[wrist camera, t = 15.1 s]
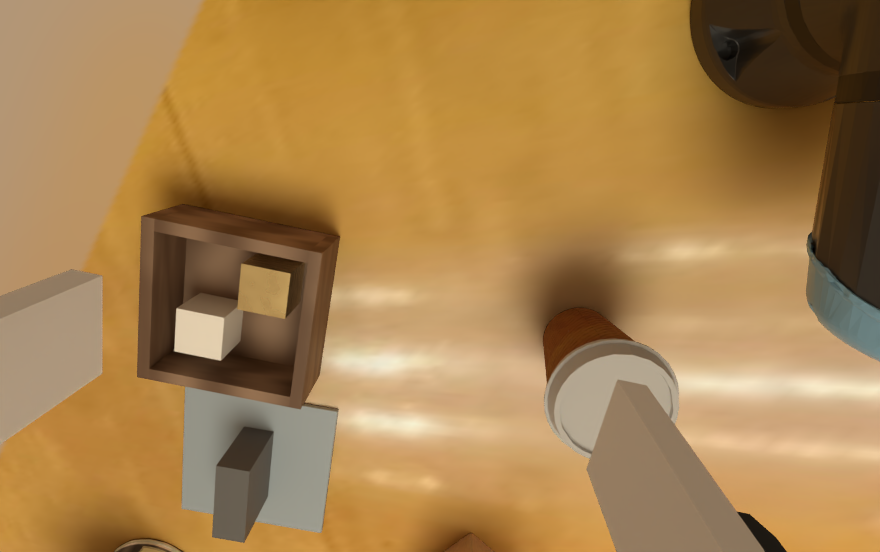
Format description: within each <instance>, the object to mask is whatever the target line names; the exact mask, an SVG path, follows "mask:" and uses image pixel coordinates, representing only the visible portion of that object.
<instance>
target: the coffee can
mask: <svg viewBox="0 0 880 552" xmlns="http://www.w3.org/2000/svg"><path fill="white" fill-rule="evenodd" d="M114 552H182V551H180V550H179V549H177V548H175V547H174V546H172V545H170V544H167V543H165V542H161V541H158V540H152V539H138V540H133V541H129V542H127V543H125V544H123V545H121V546H120V547H118V548H117V549H116V550H115V551H114Z"/></svg>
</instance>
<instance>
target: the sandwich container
mask: <svg viewBox="0 0 880 552" xmlns="http://www.w3.org/2000/svg"><path fill="white" fill-rule="evenodd" d="M444 552H494V551H493V550H491V549H490V548H489V547H488V546H487V545H486V544H484V543H483V542H482V541H481V540H480V539H479V538H477V537H476V536H475V535H474V534H473V533H469V534H468V535H467V536H465V537H464V538H462V539H461V540H459V541H458V542H457V543H455V544H454V545H452V546H451V547H450V548H448V549H447V550H445V551H444Z"/></svg>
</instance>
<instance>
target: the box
mask: <svg viewBox="0 0 880 552" xmlns="http://www.w3.org/2000/svg"><path fill="white" fill-rule="evenodd" d="M339 240H340V237H339V236H334V235H329V234H325V233H320V232H315V231H310V230H305V229H301V228H296V227H291V226H286V225H281V224H276V223H272V222H267V221H262V220H257V219H252V218H248V217H243V216H238V215H233V214H228V213H223V212H219V211H214V210H209V209H204V208H199V207H195V206H190V205H185V204H182V205H178V206H175V207H171V208H168V209H164V210H161V211H157V212H154V213H151V214H147V215H144V216H141V252H140V289H139V325H138V362H137V377H140V378H145V379H150V380H155V381H160V382H165V383H170V384H175V385H180V386H185V387H190V388H195V389H200V390H205V391H210V392H215V393H220V394H225V395H230V396H235V397H240V398H245V399H250V400H255V401H260V402H265V403H270V404H275V405H280V406H285V407H290V408H295V409H300V410H301V408H302V406H303V404H304V402H305V401H306V399H307V397H308V395H309V393H310V392H311V390H312V388H313V386H314V384H315V383H316V381H317V379H318V377H319V375H320V368H321V361H322V355H323V348H324V341H325V334H326V328H327V321H328V314H329V307H330V301H331V294H332V287H333V280H334V274H335V267H336V260H337V253H338V247H339ZM257 253H261V254H266V255H271V256H276V257H281V258H285V259H290V260H295V261H300V262H305V267H304V275H303V282H302V290H301V298H300V303H299V304H298V305H297V306H296V307H295V309H294V310H293V311H292V312H291V313H290V314H289V315H288V316H287V318H286V319H283V318H278V317H273V316H268V315H263V314H258V313H253V312H248V311H243V319H242V330H241V340H240V342H239V343H238V344H237V345H236V346H235V347H234V348H233V349H232V350H231V351H230V352H229V353H228V354H227V355H226V356H225V357H224V358H223V359H222V360H221V361H220V360H215V359H210V358H205V357H200V356H195V355H190V354H185V353H180V352H175V351H174V346H175V327H176V308H178V307H179V306H181V305H182V304H184V303H185V302H187V301H188V300H190V299H191V298H193V297H194V296H196V295H198V294H199V293H205V294H210V295H214V296H219V297H224V298H229V299H234V300H238V295H239V284H240V273H241V263H243V262H244V261H246V260H248V259H249V258H251V257H252V256H254V255H255V254H257Z"/></svg>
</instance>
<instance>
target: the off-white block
mask: <svg viewBox="0 0 880 552" xmlns="http://www.w3.org/2000/svg"><path fill="white" fill-rule="evenodd" d="M237 306H238V300H234V299H229V298H224V297H219V296H214V295H210V294H205V293H199V294H198V295H196V296H194V297H193V298H191V299H190V300H188V301H187V302H185V303H184V304H182V305H181V306H179V307H178V308H176V327H175V346H174V351H175V352H180V353H185V354H190V355H195V356H200V357H205V358H210V359H215V360H220V361H221V360H222V359H223V358H224V357H225V356H226V355H227V354H228V353H229V352H230V351H231V350H232V349H233V348H234V347H235V346H236V345H237V344H238V343H239V342H240V340H241V330H242V319H243V310H238V309H237Z"/></svg>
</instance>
